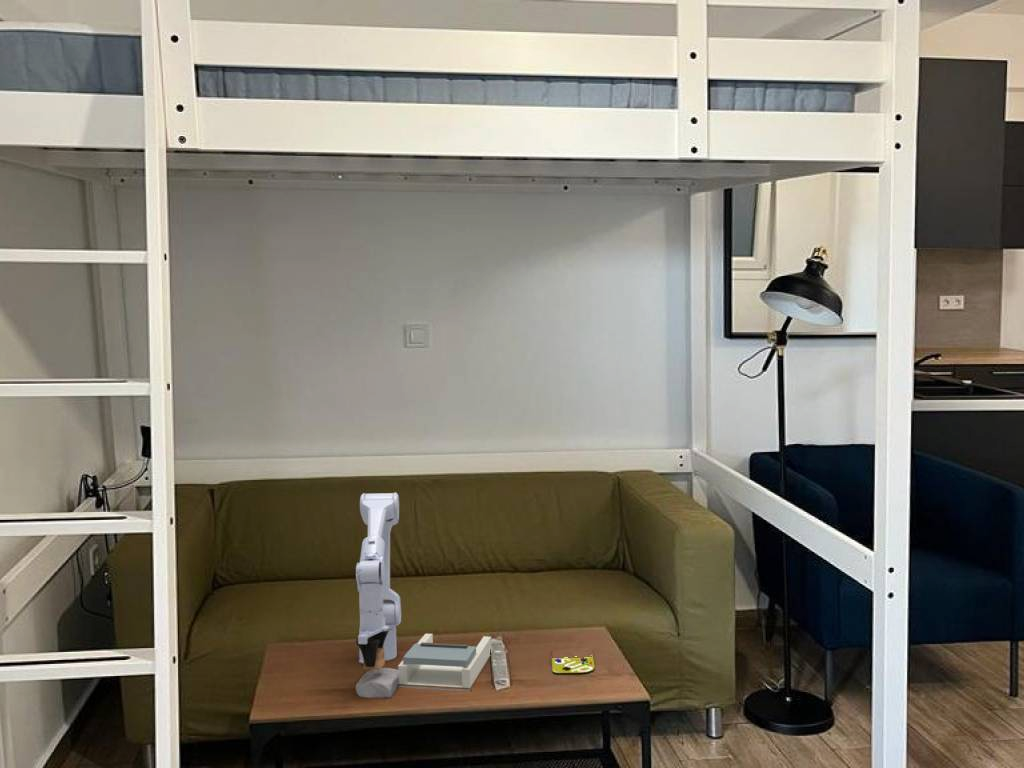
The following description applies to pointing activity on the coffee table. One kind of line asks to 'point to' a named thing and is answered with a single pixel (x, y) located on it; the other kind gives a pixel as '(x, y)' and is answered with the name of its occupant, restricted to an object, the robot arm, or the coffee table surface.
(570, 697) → the coffee table surface
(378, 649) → the block
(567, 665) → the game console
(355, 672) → the coffee table surface
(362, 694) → the stone block
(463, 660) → the slide cover
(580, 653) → the coffee table surface
